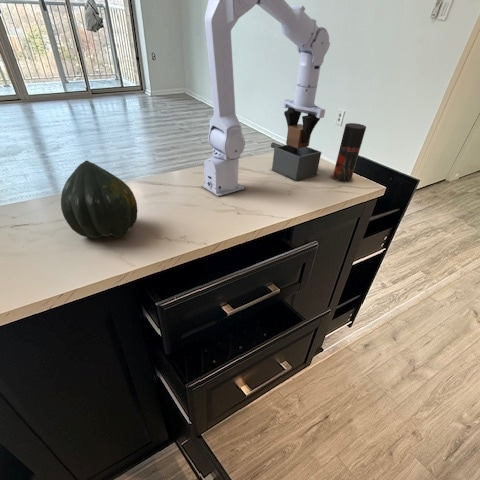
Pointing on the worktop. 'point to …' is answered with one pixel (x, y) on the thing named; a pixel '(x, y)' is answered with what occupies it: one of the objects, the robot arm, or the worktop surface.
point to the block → (296, 136)
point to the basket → (295, 161)
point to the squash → (98, 202)
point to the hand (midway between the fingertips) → (298, 140)
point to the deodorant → (348, 151)
